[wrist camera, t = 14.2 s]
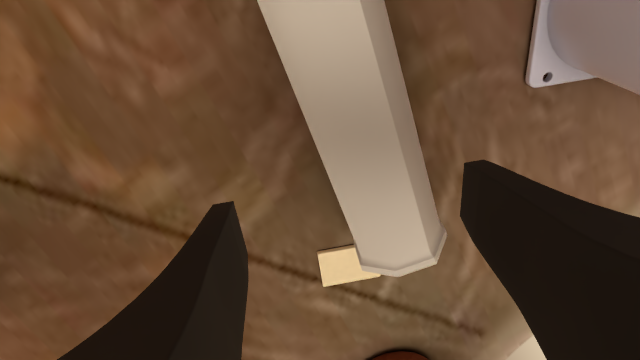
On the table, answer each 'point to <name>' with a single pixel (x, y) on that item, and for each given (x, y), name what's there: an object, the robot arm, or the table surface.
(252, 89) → the table surface
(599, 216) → the robot arm
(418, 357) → the bottle
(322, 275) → the end marks
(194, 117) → the table surface
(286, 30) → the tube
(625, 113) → the table surface
